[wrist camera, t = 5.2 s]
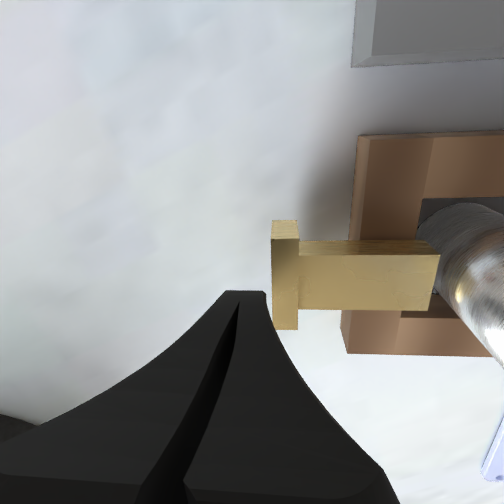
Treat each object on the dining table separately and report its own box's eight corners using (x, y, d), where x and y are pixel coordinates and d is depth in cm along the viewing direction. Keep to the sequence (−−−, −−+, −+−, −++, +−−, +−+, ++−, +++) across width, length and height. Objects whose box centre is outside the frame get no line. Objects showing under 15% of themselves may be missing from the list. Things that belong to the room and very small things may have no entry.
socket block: (621, 125, 12) (681, 128, 10) (535, 331, 16) (567, 359, 14) (358, 135, 13) (370, 140, 11) (340, 327, 17) (347, 353, 15)
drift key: (424, 218, 12) (449, 237, 10) (408, 303, 14) (426, 332, 12) (272, 220, 13) (270, 239, 11) (273, 301, 15) (272, 329, 13)
